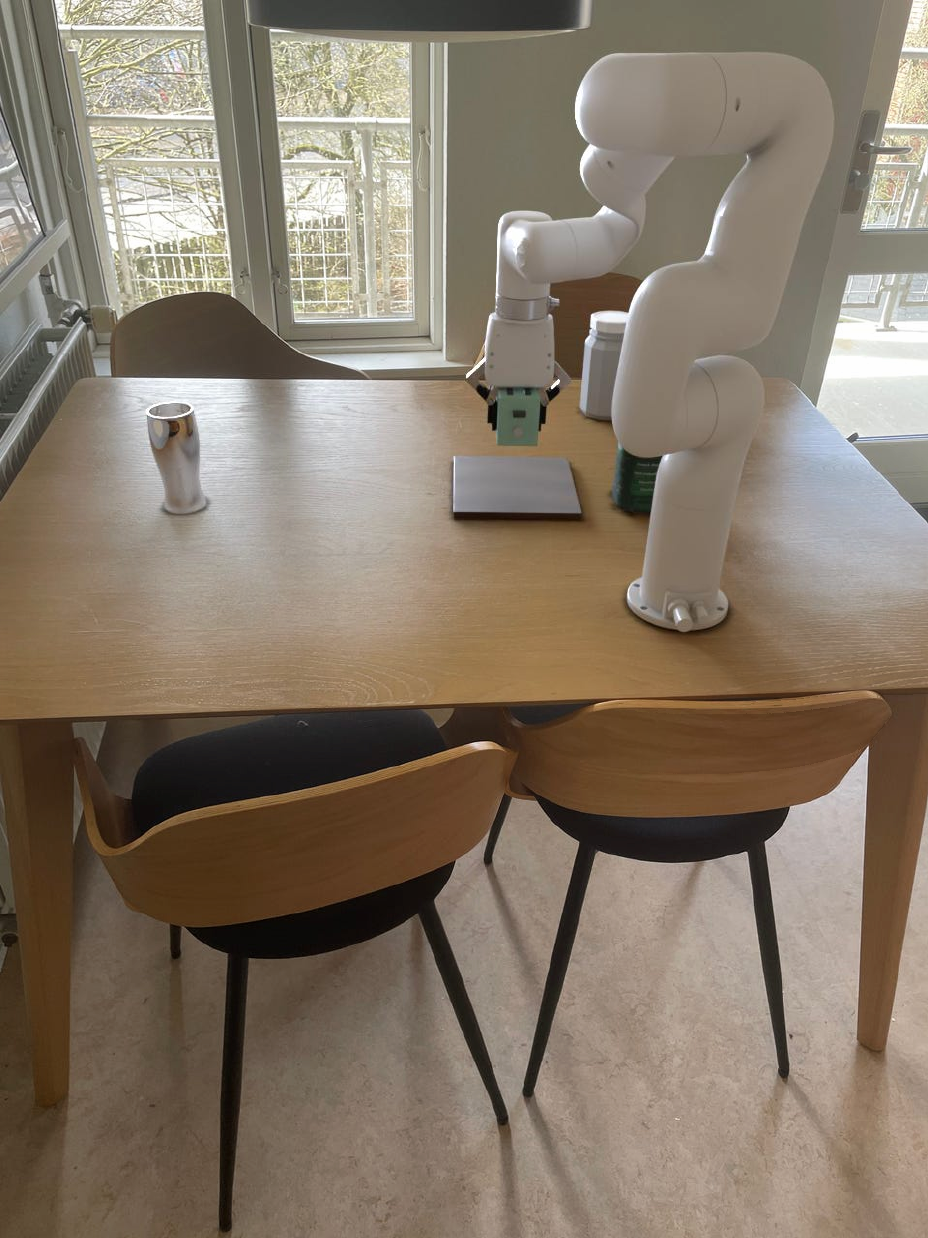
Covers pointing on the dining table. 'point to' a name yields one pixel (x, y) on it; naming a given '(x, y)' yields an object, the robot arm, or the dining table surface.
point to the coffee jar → (634, 481)
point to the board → (514, 488)
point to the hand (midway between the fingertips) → (515, 426)
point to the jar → (601, 363)
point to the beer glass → (177, 455)
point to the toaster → (518, 416)
